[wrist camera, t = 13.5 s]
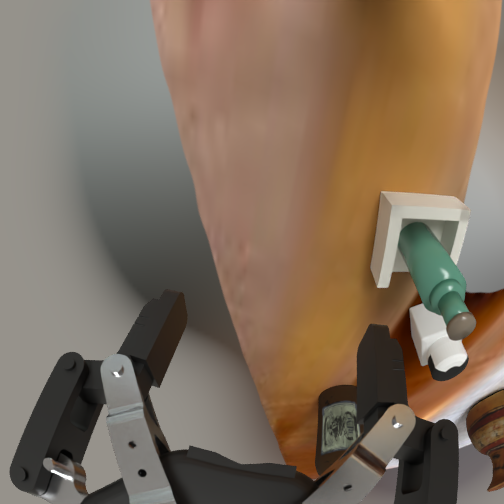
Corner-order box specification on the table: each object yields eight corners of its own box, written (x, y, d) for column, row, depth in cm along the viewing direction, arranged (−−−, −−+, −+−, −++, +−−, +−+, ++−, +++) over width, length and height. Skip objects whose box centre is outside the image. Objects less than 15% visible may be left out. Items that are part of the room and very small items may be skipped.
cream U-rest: (380, 191, 33) (391, 204, 29) (454, 196, 31) (471, 210, 27) (370, 267, 38) (377, 287, 34) (437, 267, 37) (449, 285, 33)
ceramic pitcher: (484, 385, 52) (511, 481, 26) (527, 374, 49) (556, 454, 24) (451, 422, 62) (467, 505, 36) (495, 411, 59) (514, 483, 34)
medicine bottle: (447, 322, 42) (470, 375, 32) (411, 335, 44) (428, 391, 34) (447, 293, 39) (476, 348, 29) (408, 307, 41) (430, 366, 31)
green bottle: (400, 221, 33) (448, 309, 20) (435, 222, 32) (493, 305, 19) (394, 257, 36) (430, 350, 22) (427, 257, 35) (472, 345, 21)
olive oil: (366, 402, 56) (374, 505, 34) (320, 411, 59) (318, 512, 37) (363, 378, 51) (374, 497, 30) (311, 388, 54) (307, 505, 33)
